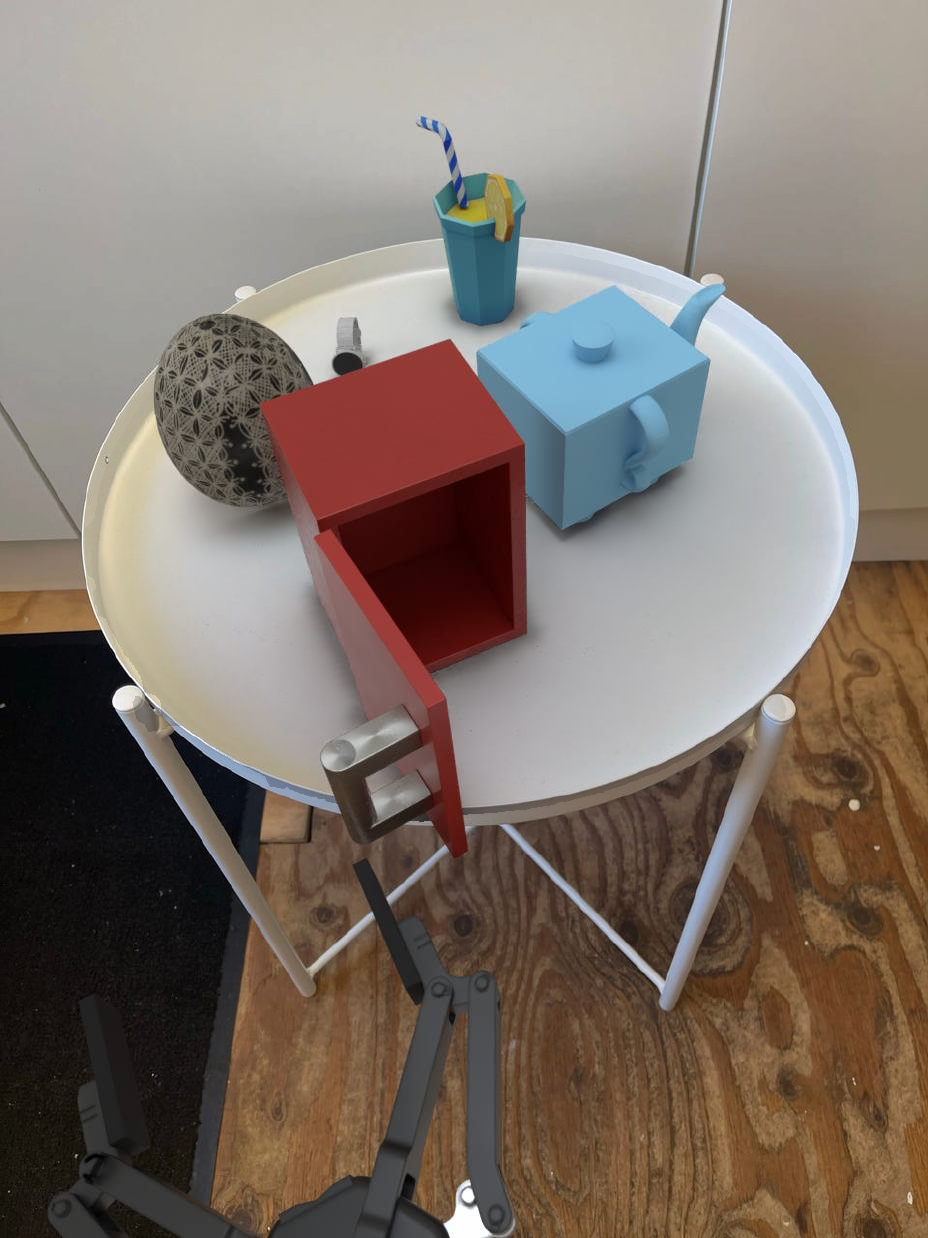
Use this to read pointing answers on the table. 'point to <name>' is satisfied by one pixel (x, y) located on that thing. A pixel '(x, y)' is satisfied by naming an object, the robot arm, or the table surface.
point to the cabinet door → (388, 719)
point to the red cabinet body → (413, 496)
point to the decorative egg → (225, 406)
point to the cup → (479, 236)
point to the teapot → (600, 397)
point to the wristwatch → (348, 347)
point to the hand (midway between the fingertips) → (235, 936)
